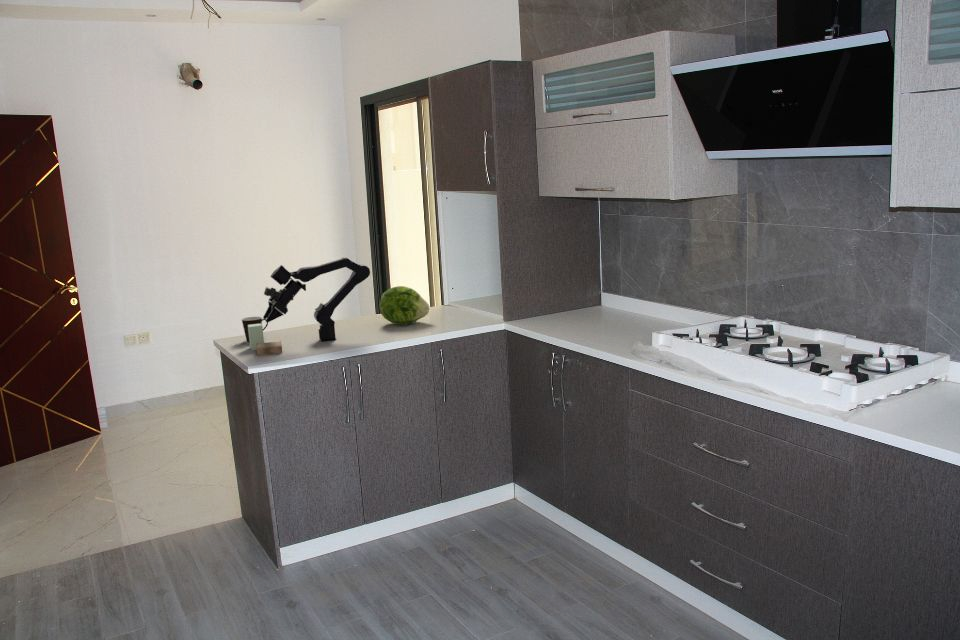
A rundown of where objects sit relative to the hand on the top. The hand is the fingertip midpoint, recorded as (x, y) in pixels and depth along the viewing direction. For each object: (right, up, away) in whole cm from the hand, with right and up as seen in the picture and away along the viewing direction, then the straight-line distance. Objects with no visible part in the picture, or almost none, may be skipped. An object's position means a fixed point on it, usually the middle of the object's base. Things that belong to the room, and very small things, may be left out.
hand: (265, 320), depth 338 cm
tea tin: (-3, -12, +1) cm, 12 cm away
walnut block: (+4, -14, -7) cm, 16 cm away
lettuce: (+57, -2, +38) cm, 68 cm away
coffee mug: (-8, -9, +17) cm, 21 cm away
